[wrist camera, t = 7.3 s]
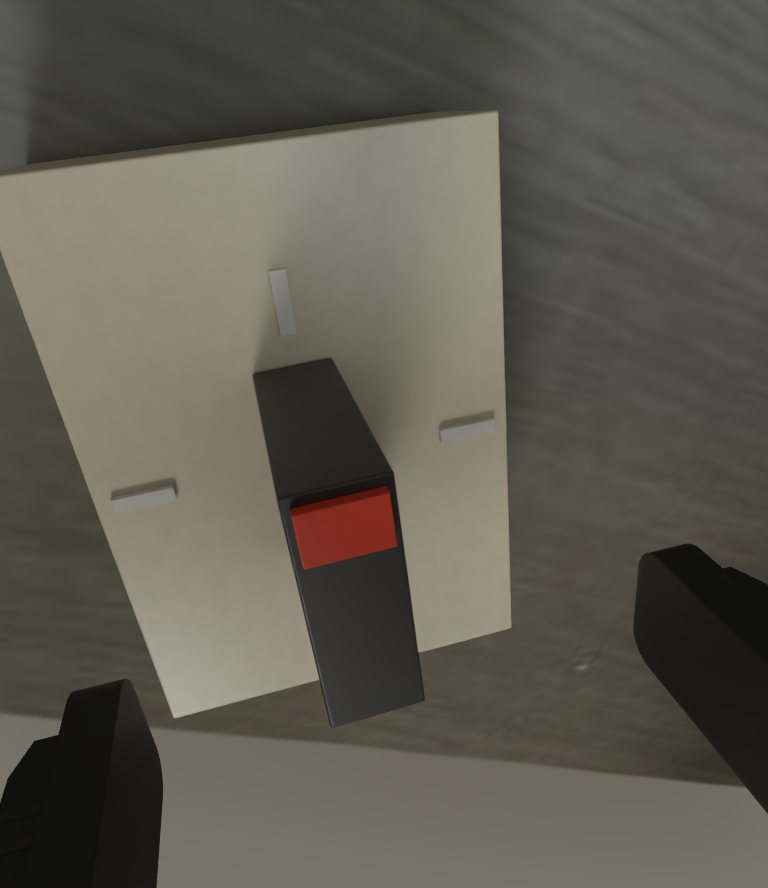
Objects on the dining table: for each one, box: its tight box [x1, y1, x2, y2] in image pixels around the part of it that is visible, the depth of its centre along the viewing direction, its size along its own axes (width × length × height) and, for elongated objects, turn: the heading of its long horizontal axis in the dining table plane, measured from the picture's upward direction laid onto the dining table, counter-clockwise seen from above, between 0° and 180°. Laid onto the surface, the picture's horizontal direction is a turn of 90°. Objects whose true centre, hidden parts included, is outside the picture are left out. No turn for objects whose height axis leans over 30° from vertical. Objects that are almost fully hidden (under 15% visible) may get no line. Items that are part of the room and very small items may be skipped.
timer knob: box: [252, 358, 425, 728], centre depth 13 cm, size 5×2×6 cm, turn 7°
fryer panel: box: [0, 110, 511, 718], centre depth 18 cm, size 14×10×4 cm
